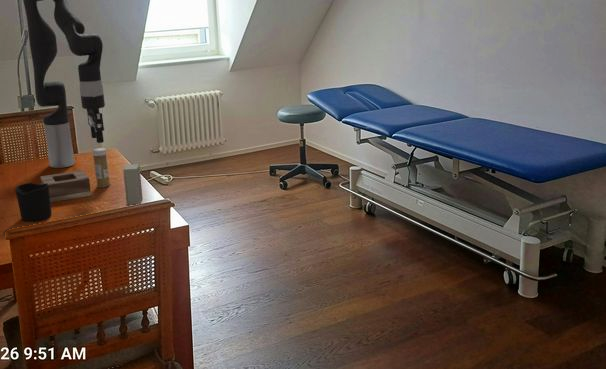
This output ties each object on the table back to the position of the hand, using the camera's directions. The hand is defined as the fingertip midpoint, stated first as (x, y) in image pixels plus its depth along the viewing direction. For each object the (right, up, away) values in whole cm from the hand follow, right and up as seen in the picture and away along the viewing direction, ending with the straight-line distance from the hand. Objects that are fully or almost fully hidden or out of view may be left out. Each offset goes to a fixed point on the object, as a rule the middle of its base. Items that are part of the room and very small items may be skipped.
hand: (97, 140), depth 221 cm
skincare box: (+16, -21, -13) cm, 30 cm away
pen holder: (-11, -26, -25) cm, 37 cm away
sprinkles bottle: (0, -16, +5) cm, 17 cm away
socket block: (-10, -19, -3) cm, 21 cm away
